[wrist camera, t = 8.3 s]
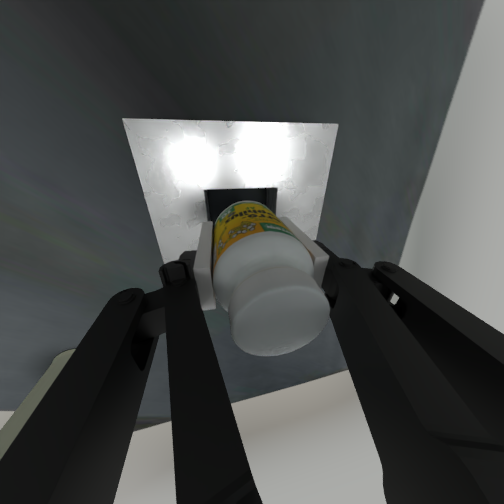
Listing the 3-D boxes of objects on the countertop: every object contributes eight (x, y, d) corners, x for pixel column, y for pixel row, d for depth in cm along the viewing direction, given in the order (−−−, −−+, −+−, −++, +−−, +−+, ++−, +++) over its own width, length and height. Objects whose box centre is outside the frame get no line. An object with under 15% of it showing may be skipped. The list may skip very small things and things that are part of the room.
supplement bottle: (216, 259, 16) (214, 375, 8) (211, 199, 13) (201, 276, 5) (273, 256, 17) (328, 357, 9) (280, 198, 14) (366, 264, 6)
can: (70, 339, 25) (-29, 467, 15) (133, 358, 30) (89, 468, 19) (42, 372, 28) (-62, 503, 17) (104, 385, 32) (51, 497, 22)
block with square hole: (143, 125, 15) (122, 118, 12) (315, 129, 18) (338, 124, 14) (179, 274, 23) (173, 295, 20) (295, 263, 26) (307, 280, 22)
